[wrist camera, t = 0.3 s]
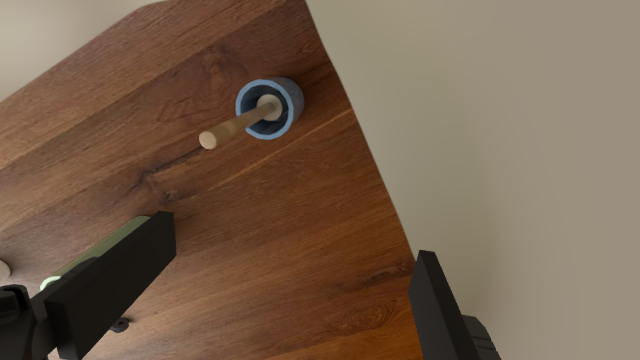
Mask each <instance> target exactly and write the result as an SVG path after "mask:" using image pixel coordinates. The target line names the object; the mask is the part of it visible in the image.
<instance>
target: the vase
mask: <svg viewBox="0 0 640 360" xmlns="http://www.w3.org/2000/svg"><path fill="white" fill-rule="evenodd" d="M149 218H150V217H148V216H137V217H134V218H132V219H131V220H130V221H128V222H126V223H125V224H124V225H122V226H121V227H119V228H118V229H116V230H115V231H114V232H112V233H111V234H109V235H108V236H106V237H105V238H104V239H102V240H101V241H99V242H98V243H97V244H95V245H94V246H92V247H91V248H89V249H88V250H87V251H85V252H84V253H82V254H81V255H79V256H78V257H77V258H75V259H74V260H72V261H71V262H69V263H68V264H67V265H65V266H64V267H62V268H61V269H59V270H58V271H57V272H55V273H54V274H52V275H51V276H49V277H48V278H47V279H45V280H44V281H43V283H42V284H41V286H40V291H42V290H43V289H45V288H46V287H47V286H49V285H50V284H51V283H53V282H54V281H55V280H57V279H59V278H60V277H61V276H62V275H64V274H65V273H66V272H69V270H70V269H72V268H73V267H74V266H76V265H77V264H79V263H80V262H82V261H84V260H87V259H89V258H91V257H93V256H95V257H100V256H101V255H102V254H104V253H105V252H106V251H108V250H109V249H110V248H111V247H113V246H114V245H115V244H117V243H118V242H119V241H121V240H122V239H123V238H124V237H126V236H127V235H128V234H130V233H131V232H132V231H134V230H135V229H136V228H137V227H139V226H140V225H141V224H143V223H144V222H145V221H147V220H148V219H149Z"/></svg>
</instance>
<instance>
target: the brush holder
mask: <svg viewBox="0 0 640 360" xmlns="http://www.w3.org/2000/svg"><path fill="white" fill-rule="evenodd" d="M274 91H280V92H281V93H282V95H283V96H284V97H285V98H286V101H287V104H288V107H289V110H288V111H287V112H286V113H285V114H283V115H282V116H280V117H279V118H278V119H276V120H274V121H267V120H265V119H261V120H259V121H258V122H256V123H254V124H253V125H251V126H249V127H248V128H246V129H245V130H246V131H247V132H248V133H249V134H251V135H253V136H255V137H257V138H259V139H267V140H270V139H274V138H277V137H280V136H281V135H282V134H284V133H285V132H286V131H287V130H288V129H289V128H290V127H291V126H292V125H293V124H294V123H295V122H296V121H297V120H298V119H299V118H300V116H301V114H302V112H303V109H304V96H303V93H302V91H301V89H300V88H299V86H298V85H297V84H296V83H295V82H294V81H292V80H291V79H288V78H286V77H277V76H276V77H270V78H263V79H258V80H255V81H252V82H249V83H248V84H247V85H246V86H245V87H243V88H242V89H241V90H240V92H239V95H238V97H237V100H236V114H237V116H239V115H241V114H243V113H246V112H248V111H250V110H252V109H254V108H257V102H258V100H259V99H260V97H262V96H263V95H266V94H269V93H272V92H274Z"/></svg>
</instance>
